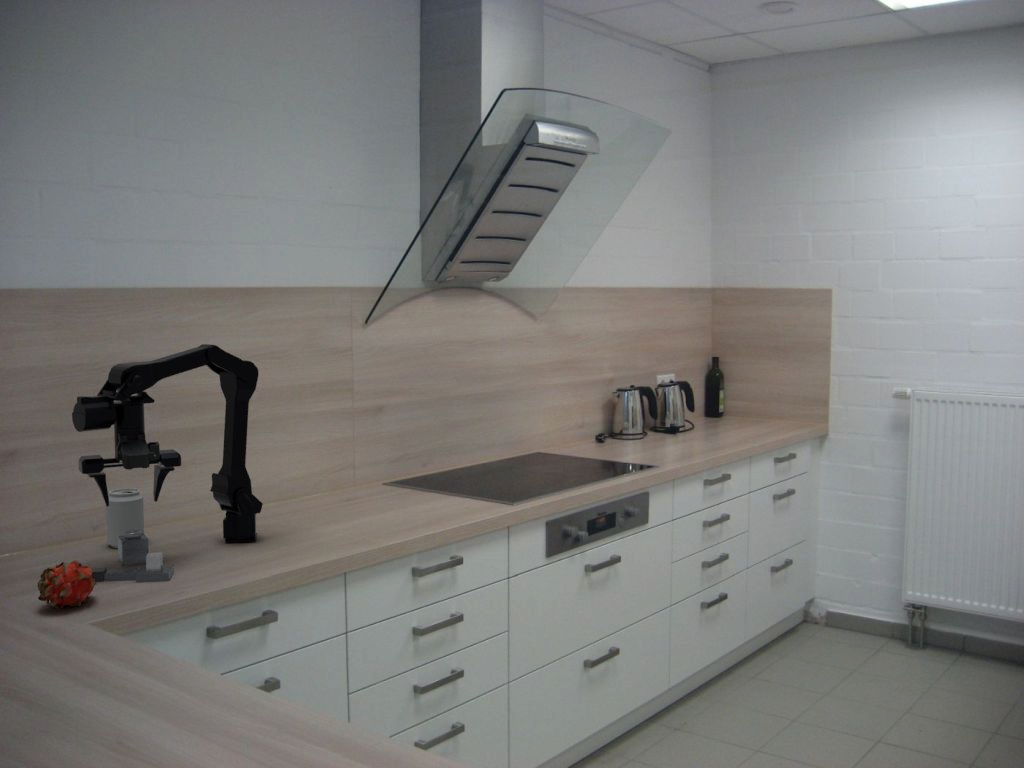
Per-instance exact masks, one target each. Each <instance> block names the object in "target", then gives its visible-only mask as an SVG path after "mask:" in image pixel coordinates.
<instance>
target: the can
mask: <svg viewBox="0 0 1024 768" xmlns="http://www.w3.org/2000/svg"><path fill="white" fill-rule="evenodd" d="M140 491H141V490H140V489H139V488H135V487H128V488H127V487H124V488H115V489H112V490H111V489H110V490H109V492H108V497H109V506H106V505H105V513H106V514H105V515H106V516H105V517H106V544H108V545H109V546H110V547H111V548H114V549H118V536H123V535H124V533H125V532H127V531H141V533H144V534H145V514H144V513H145V512H144V510H145V509H144V507H145V506H144V496H143V495H142V494H141V493H140Z"/></svg>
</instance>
